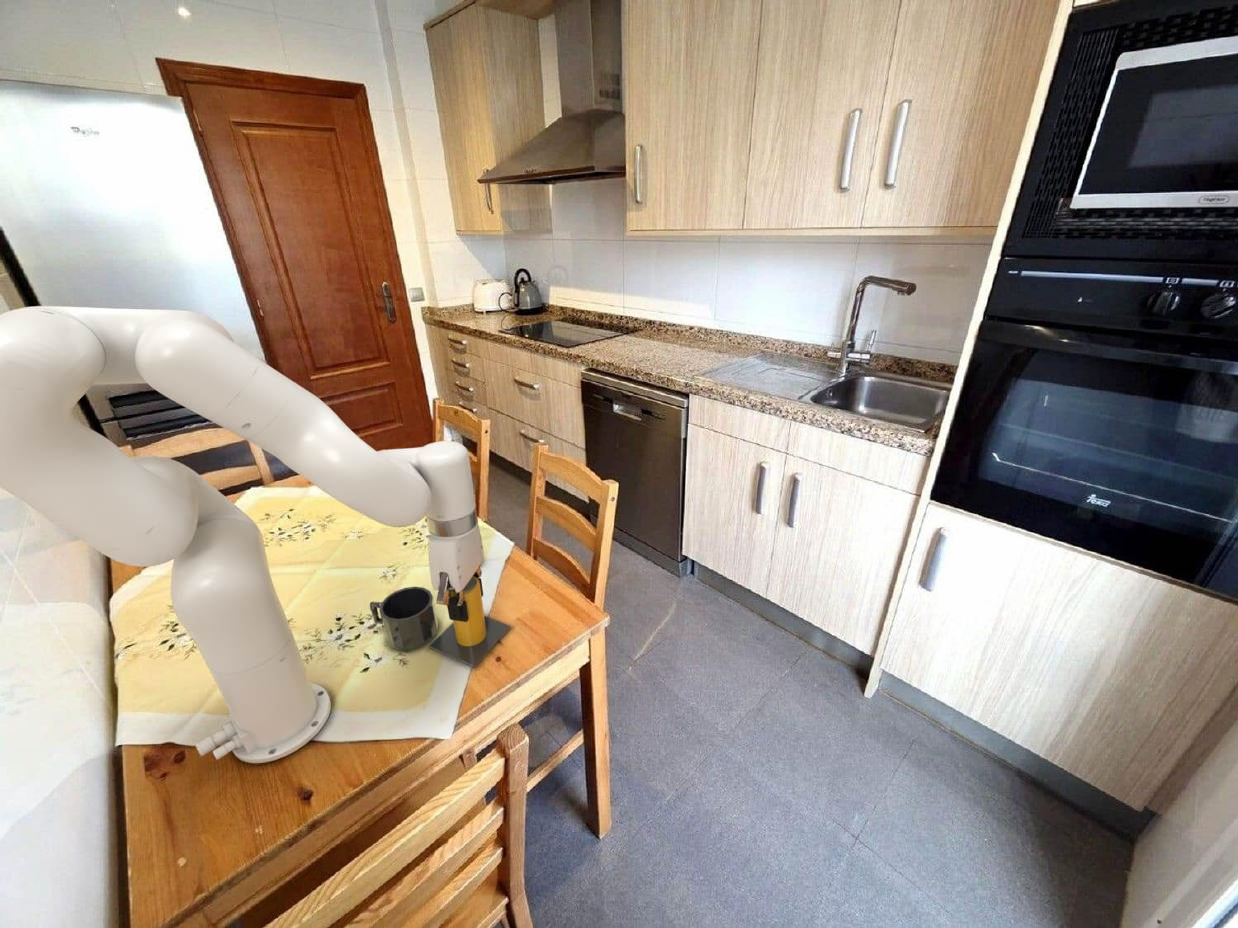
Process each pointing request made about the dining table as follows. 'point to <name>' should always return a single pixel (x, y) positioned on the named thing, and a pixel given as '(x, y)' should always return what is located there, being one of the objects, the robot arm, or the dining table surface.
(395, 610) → the mug
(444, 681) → the dining table surface
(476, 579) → the can
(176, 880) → the dining table surface
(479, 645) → the coaster
